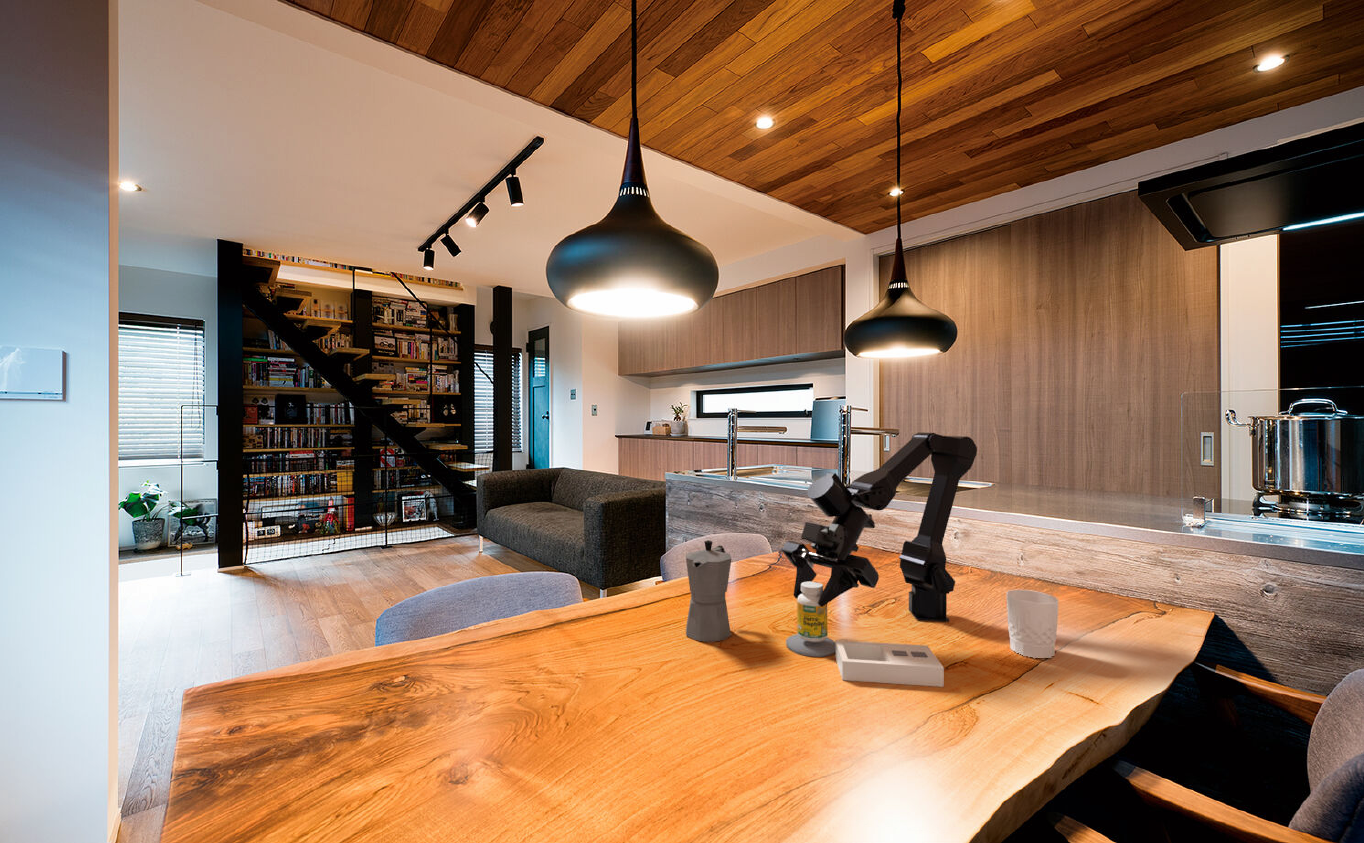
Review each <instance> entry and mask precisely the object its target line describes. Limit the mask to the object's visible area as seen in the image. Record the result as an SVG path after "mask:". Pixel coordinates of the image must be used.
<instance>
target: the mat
mask: <svg viewBox="0 0 1364 843" xmlns="http://www.w3.org/2000/svg"><path fill="white" fill-rule="evenodd" d="M785 645H786V647H787V649H789V650H790V651H791V652H793V653H795V654H797V655H801V656H805V657H811V658H812V657H815V658H821V657H828V656H832V655H834V654H835V641H834V640H833V639H831V638H829V637H828V636H827V638H826V639H825V640H823V641H819V642H812V641H806V640H803V639H802V638H800V637H799V636H798V633H796V634H792V635H790V636H789V637H787V638H786V639H785Z"/></svg>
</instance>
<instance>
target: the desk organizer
mask: <svg viewBox="0 0 1364 843" xmlns="http://www.w3.org/2000/svg"><path fill="white" fill-rule="evenodd" d="M834 642H835V653H834V654H835V656H834V657H835V661H836V664H837V667H838V670H839V673H840V676H841V680H842V681H847V682H848V681H849V682H850V681H851V682H865V683H879V684H896V685H909V686H912V685H913V686H925V687H926V686H927V687H939V688H940V687H941V688H944V686H945V684H944V682H945V681H944V678H945V677H944V673H945V672H944V671H945V668H944V666H943V665H942V663H941V662H940V661H939V659H938V657H937V656H936V655H935V654H934V653H933V651H932V650H931V648H930V647H929V646H928V645H925V644H923V645H922V644H906V643H891V642H890V643H889V642H871V641H854V640H853V641H852V640H838V639H837V640H836V639H835V641H834Z"/></svg>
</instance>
